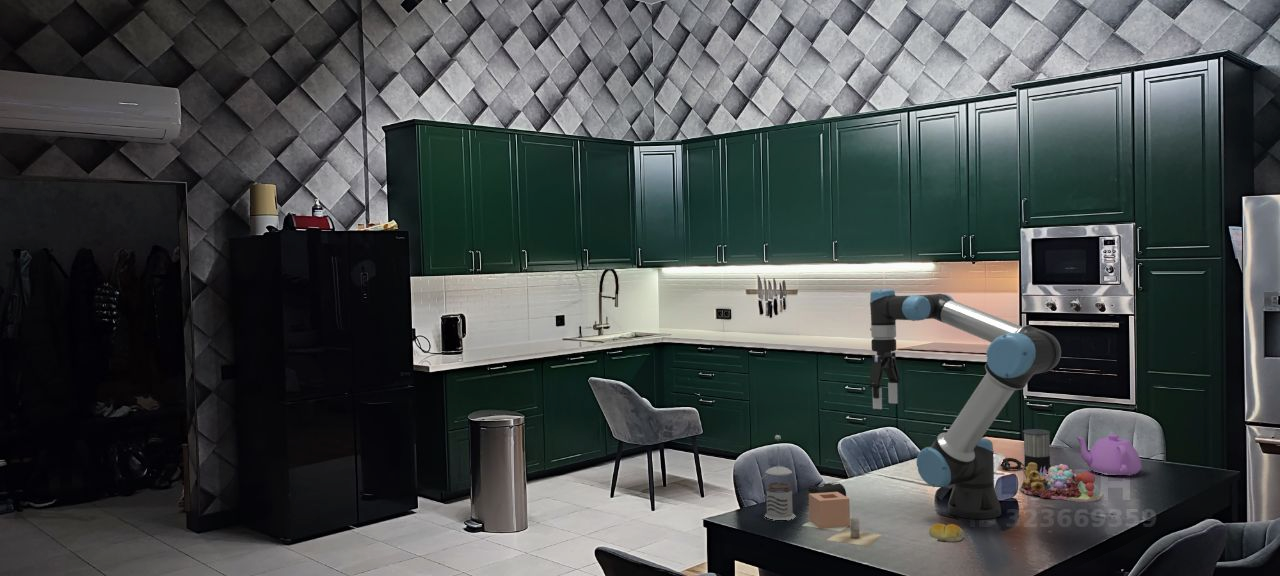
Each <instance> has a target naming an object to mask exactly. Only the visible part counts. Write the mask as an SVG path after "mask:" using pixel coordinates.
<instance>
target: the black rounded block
mask: <svg viewBox="0 0 1280 576" xmlns="http://www.w3.org/2000/svg"><path fill="white" fill-rule="evenodd" d="M807 489H808V494H813V493H827V492H839V493H840V494H842V495H844V496H846V497H847V491H846V489H845V487H844V485H843V484H842V483H839V482H838V483H829V482H827V483H823V485H822V486H820V485H817V484H814V485H810V486H808V488H807Z"/></svg>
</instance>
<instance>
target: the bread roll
mask: <svg viewBox="0 0 1280 576" xmlns="http://www.w3.org/2000/svg"><path fill="white" fill-rule="evenodd" d="M964 535H965V532H964V530H963V529H962V528H961V527H960V526H959V525H957V524H954V523H949V524H947V525H946V524H944V523H940V522H939V523H935V524H933V525H931V526H930V527H929V529H928V536H929V537H932V538H935V539H937V541H938V542H944V541H945V542H947V543H955V542H961V541H963V539H964Z"/></svg>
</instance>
